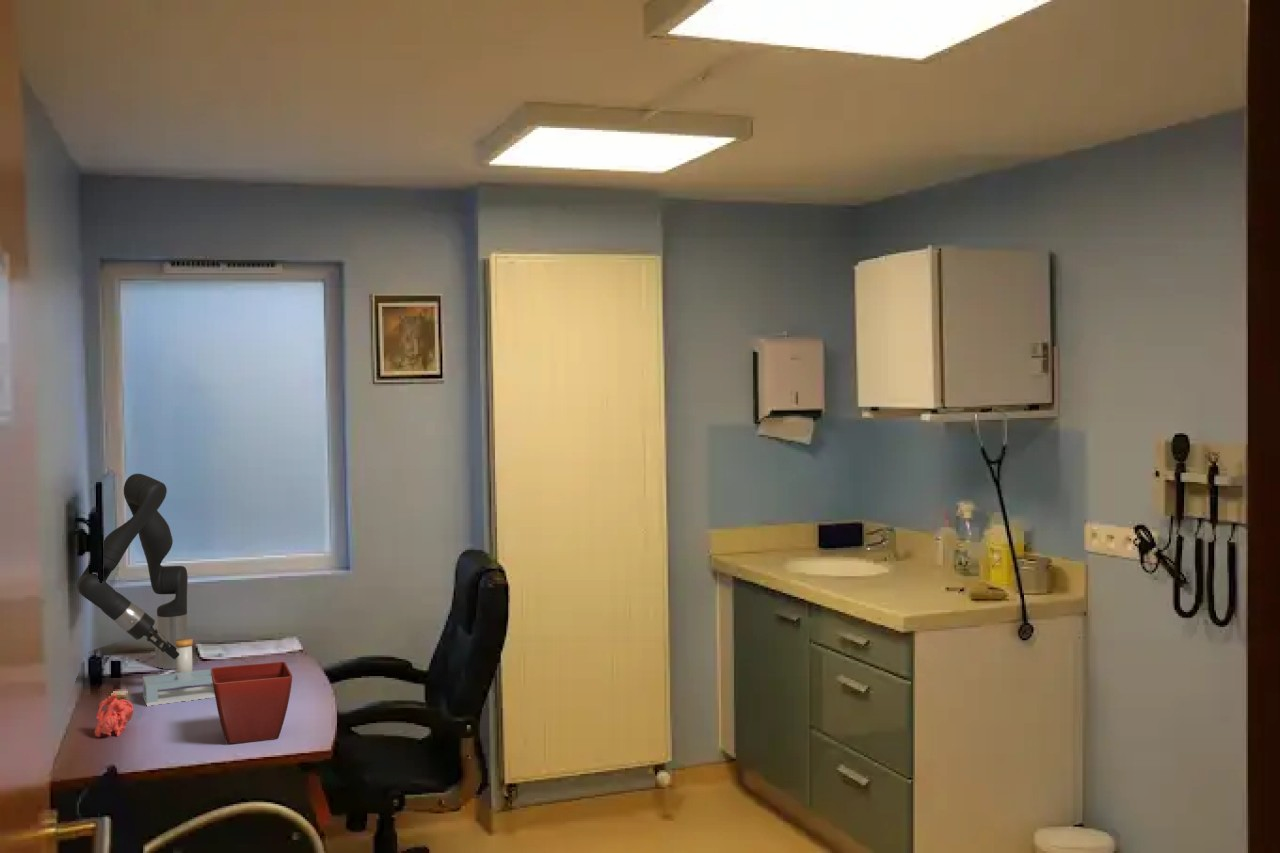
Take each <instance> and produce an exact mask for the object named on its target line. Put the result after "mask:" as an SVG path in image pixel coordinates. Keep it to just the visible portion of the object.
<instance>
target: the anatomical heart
mask: <svg viewBox="0 0 1280 853" xmlns="http://www.w3.org/2000/svg"><path fill="white" fill-rule="evenodd" d="M98 706H99V708H98V710H97V712H96V720H98V721H97V724H96V726H95V729H94V734H95V737H98V738H101V735H102V734H104V735H108V736H110V737H111V735H112V733H111V732H114V734H115V735H116V737H119V736H120V735H121V734H122V733H123V732H124V731H125V730H126V729H127V723H128V722H130V721H131V720H132V717H133V715H134V705H133V703H132V702H130V701H129V700H127V699H125V698H123V699H122V698H121V699H118V695H116V693H114V692H113V694H112V696H111V695H108V697H107V698H106V697H105V698H104V700H102V701H101V702H100V703H99V704H98ZM104 706H107V707H106V709H104V710H103V708H104Z"/></svg>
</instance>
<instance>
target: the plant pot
mask: <svg viewBox="0 0 1280 853" xmlns="http://www.w3.org/2000/svg"><path fill="white" fill-rule="evenodd" d="M210 669H211V675H212V682H213V688H214V694H215V698H214V699H215V702H216V703H215V704H216V708H217V713H218V718H219V722H220V727H221V729H222V732H223V736H224V738H225V742H226V743H227V744H237V743H246V742H247V743H249V742H256V741H257V742H258V741H259V742H260V741H266V740H267V741H268V740H276V739H278V738H279V737H280V735H281V732H282V728H283V726H284V722H285V719H286V714H287V710H288V706H289V702H290V696H291V691H292V684H293V683H292V682H293V675H292V673H291V672H292V671H291V670H290V668H289V666H288V665H287V662H285V661H277V662H265V663H264V662H263V663H254V664H243V665H242V664H240V665H229V666H220V667H211V668H210Z"/></svg>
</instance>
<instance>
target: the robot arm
mask: <svg viewBox="0 0 1280 853" xmlns="http://www.w3.org/2000/svg"><path fill="white" fill-rule="evenodd" d="M167 489H168V488H167V486H166V484H165V483H164V482H161V481H160V480H157V479H155V478H153V477H151V476H149V475H145V474H142V473H133V474H131V475H129V476H128V478H127V479H126V480H125V482H124V485H123V496H124V499H125V501H126V503H127V506H128V507H129V510H130V513H131V515H132V517H131V518H129V519H128V520H127V521H126V522H125V523H122V525H120V526H118V527H117V528H116V529H114V530H112V531H111V532H110V533H108V535H107V536H106V537H105V538H104V539H105V540H104V539H103V541H104V548H103V565H104V580H103V581H102V583H100V582H99V579H98V576H97V575H96V574H90V573H89V564H88V565H87V566H86V568H85V569H84V571H83V572H82V573H81V576H80V577H79V579H78V581H77V585H76V589H77V591H78V593H79V594H80V595H81V596H82V597H84V598H85V599H86V600H88V601H89V602H91V603H92V604H94V605H95V606H96V607H98V608H99V609H100V610H101V611H102V612H103V613H104V614H105V615H106V616H107V617H109V618H110V619H112V621H114V622H115V623H116V625H118V626H119V627H120V628H121V629H122V630H123V631H125V633H127V634H128V635H130V636H131V637H132V638H134V639H135V640H137V641H138V640H141V639H142V638H143V637H146V642H148V643H150V644H151V645H153V646H154V656H155V657H154V658H155V659H154V662H155V663H154V664H155V666H156V667H160V668H163V669H162V670H175V669H176V670H177V657H178V656H179V653H178V652H177V651H176V646H175V641H176V640H179V639H189V638H188V634H189V633H188V579H189V578H188V571H187V568H186V566H183V565H165V566H164V565H161V564H162V562H163V561H164V559H165V558H166V556H167V555H169V552H170V551H171V549H172V547H173V541H174V540H173V536H172V532H171V528H170V525H169V524H168V522H167V521H166V519H165V518H164V517H163V515H162V514H161V513H160V512H159V511H158V510H159V509H160V507H161V506H162V504H163V502H164V500H165V499H166V495H167V492H168V490H167ZM137 536H138V538H139V541H140V545H141V548H142V550H143V551H142V552H143V553H144V556H145V560H146V563H147V568H148V574H149V580H150V586H151V588H152V591H153V592H154V593H155V594H157V595H174V596H175V597H174V598H173V599H172V600H171V601H169V602H167V603H163V604H162V605H159V606H158V607H157V609H156V619H157V622H156V620H155V619H154V618H152V617H151V615H149V614H147V613H146V611H144V610H143V609H142V608H140V606H138V605H136V604H134V603H133V602H131V601H130V600H129V599H128V598H127V597H125V595H122V594H121V593H120V592H118V591H116V589H114V587H112V586H111V584H109V583H108V582H107V580H108V578H109V577H110V575H111V574H112V572H113V571H114V570H115V569H116V568H117V567H118V565H119V564H120V562H121V560H122V558H123V557H124V555H125V553H126V552H127V550H128V549H129V547H130V545H131V543H132V542H133V541H134V539H135V538H136V537H137ZM155 623H156V625H157V626H156V628H154V627H153V626H154V625H155ZM156 667H155V668H156ZM160 668H159V669H160Z"/></svg>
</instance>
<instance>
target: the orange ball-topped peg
mask: <svg viewBox="0 0 1280 853" xmlns="http://www.w3.org/2000/svg"><path fill="white" fill-rule="evenodd" d="M193 644H194V639H193V638H188V639H179V640H176V641H175V646H176V651H177V652H178V653H179V656H178V657H177V668H176V673H181V672H190V671H194V670H193V669H194V668H193ZM182 688H190V686H183V687H182Z"/></svg>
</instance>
